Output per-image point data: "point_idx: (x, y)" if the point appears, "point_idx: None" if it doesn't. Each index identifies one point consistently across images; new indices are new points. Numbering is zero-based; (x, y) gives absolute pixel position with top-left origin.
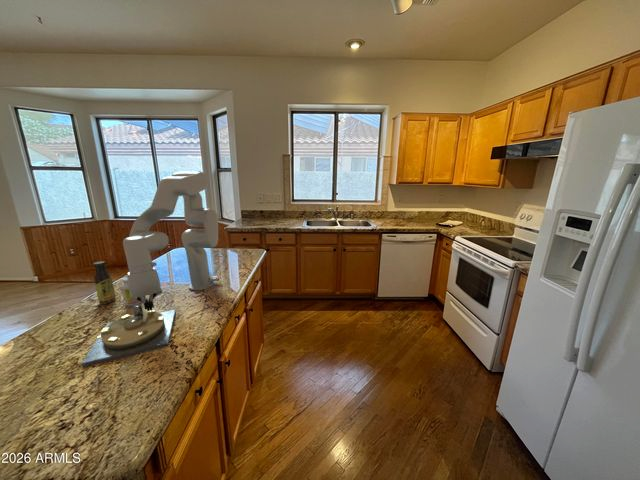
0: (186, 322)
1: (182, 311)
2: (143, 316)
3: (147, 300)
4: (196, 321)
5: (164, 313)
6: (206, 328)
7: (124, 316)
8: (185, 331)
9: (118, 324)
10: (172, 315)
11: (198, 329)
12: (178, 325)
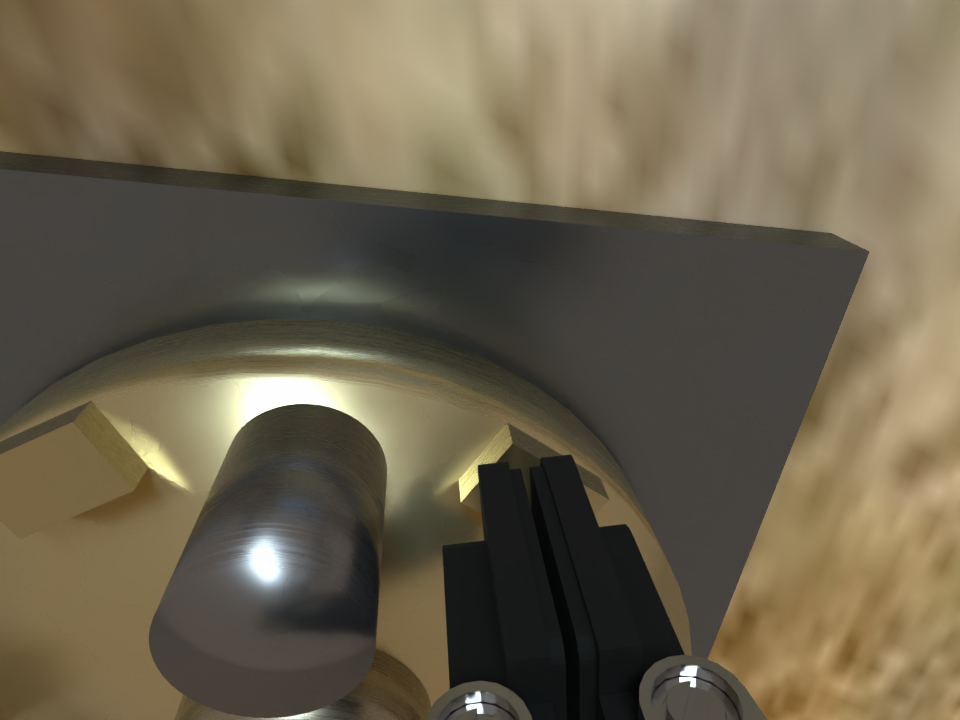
0: (856, 550)
1: (926, 242)
2: (404, 550)
3: (557, 693)
4: (947, 573)
5: (690, 302)
6: (956, 705)
7: (32, 489)
8: (792, 684)
9: (37, 625)
10: (780, 425)
11: (896, 696)
12: (766, 570)
